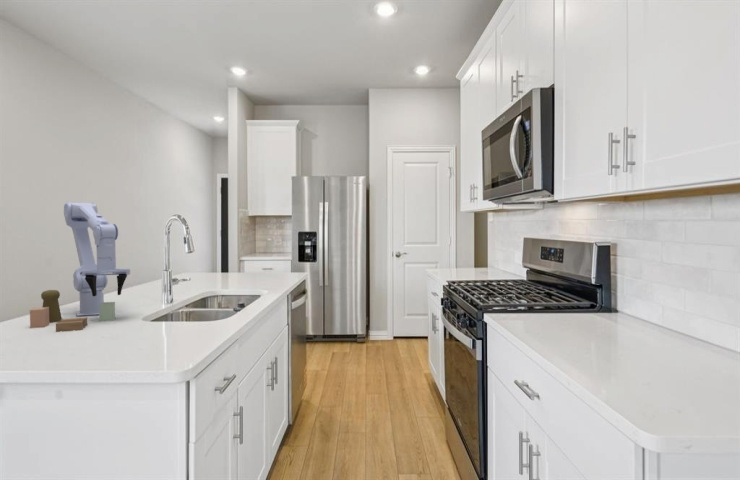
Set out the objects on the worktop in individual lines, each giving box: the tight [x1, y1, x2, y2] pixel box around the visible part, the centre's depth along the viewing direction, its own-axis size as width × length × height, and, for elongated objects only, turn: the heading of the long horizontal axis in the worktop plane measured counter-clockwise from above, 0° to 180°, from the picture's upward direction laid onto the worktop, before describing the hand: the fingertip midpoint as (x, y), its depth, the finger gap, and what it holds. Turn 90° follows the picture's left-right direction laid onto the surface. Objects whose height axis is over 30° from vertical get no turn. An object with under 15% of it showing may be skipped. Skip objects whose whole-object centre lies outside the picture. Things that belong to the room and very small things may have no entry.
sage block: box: [99, 301, 116, 322], centre depth 148 cm, size 4×4×6 cm
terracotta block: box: [29, 306, 50, 329], centre depth 138 cm, size 4×4×6 cm
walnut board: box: [55, 316, 88, 333], centre depth 135 cm, size 7×7×3 cm
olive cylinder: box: [40, 289, 63, 324], centre depth 145 cm, size 6×6×11 cm
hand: (107, 295), depth 147 cm, fingers open, 7 cm apart
